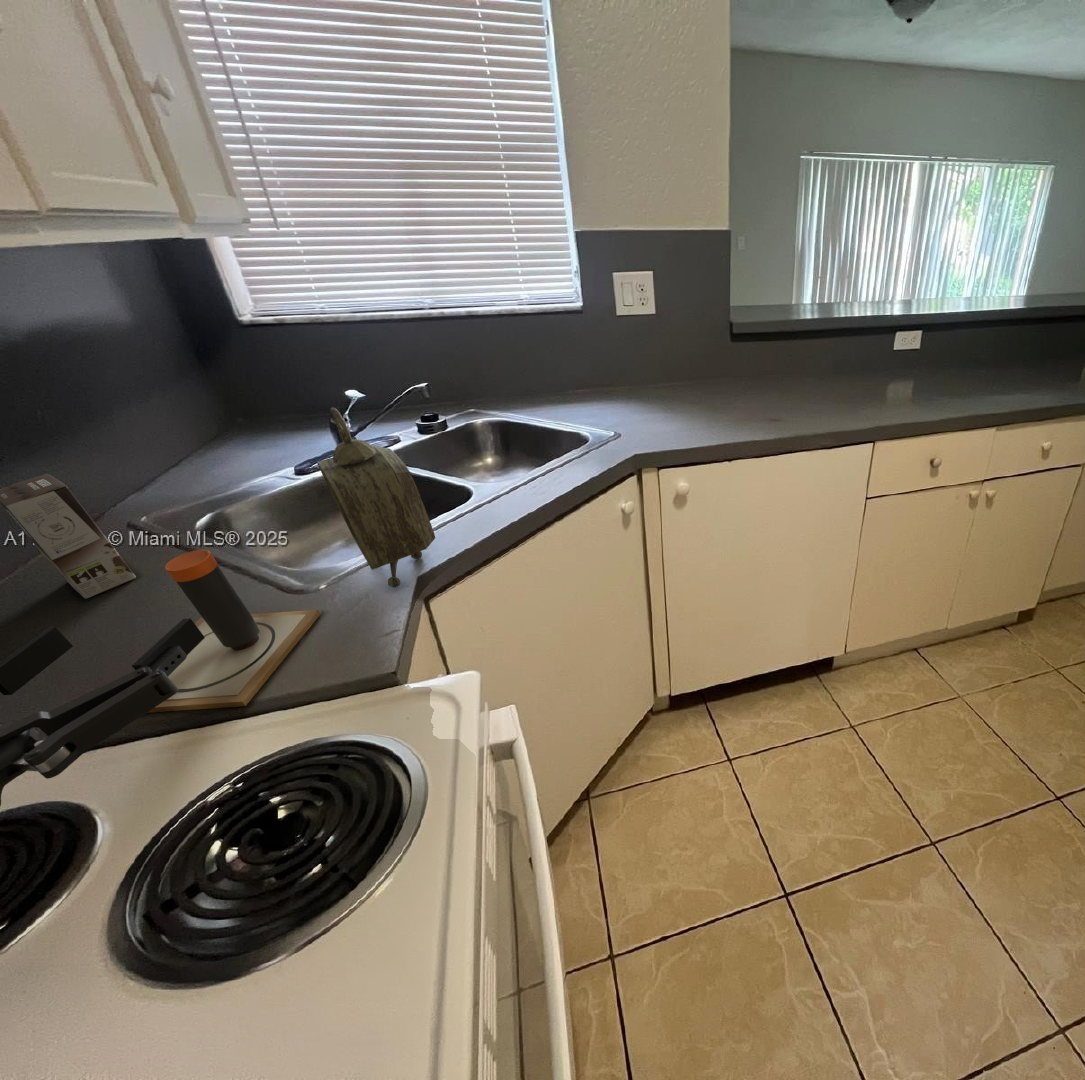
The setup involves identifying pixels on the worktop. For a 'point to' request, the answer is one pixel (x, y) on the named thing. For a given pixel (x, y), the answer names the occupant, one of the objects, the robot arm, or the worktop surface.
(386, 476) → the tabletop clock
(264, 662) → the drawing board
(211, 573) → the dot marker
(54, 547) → the coffee box
